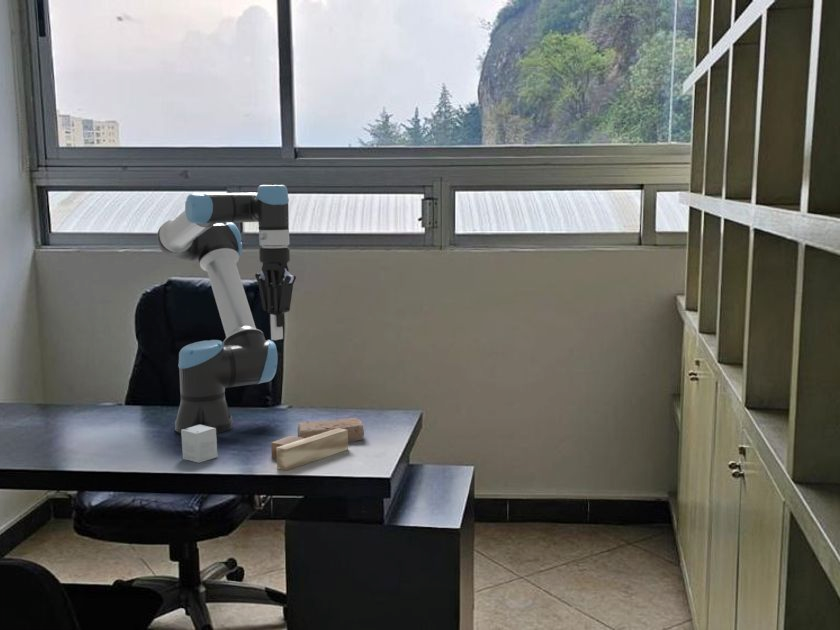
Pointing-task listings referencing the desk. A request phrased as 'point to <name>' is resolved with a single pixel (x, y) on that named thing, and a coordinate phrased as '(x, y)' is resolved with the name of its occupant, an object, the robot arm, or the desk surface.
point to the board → (311, 449)
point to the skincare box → (199, 443)
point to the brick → (332, 428)
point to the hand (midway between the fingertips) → (277, 339)
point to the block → (282, 442)
